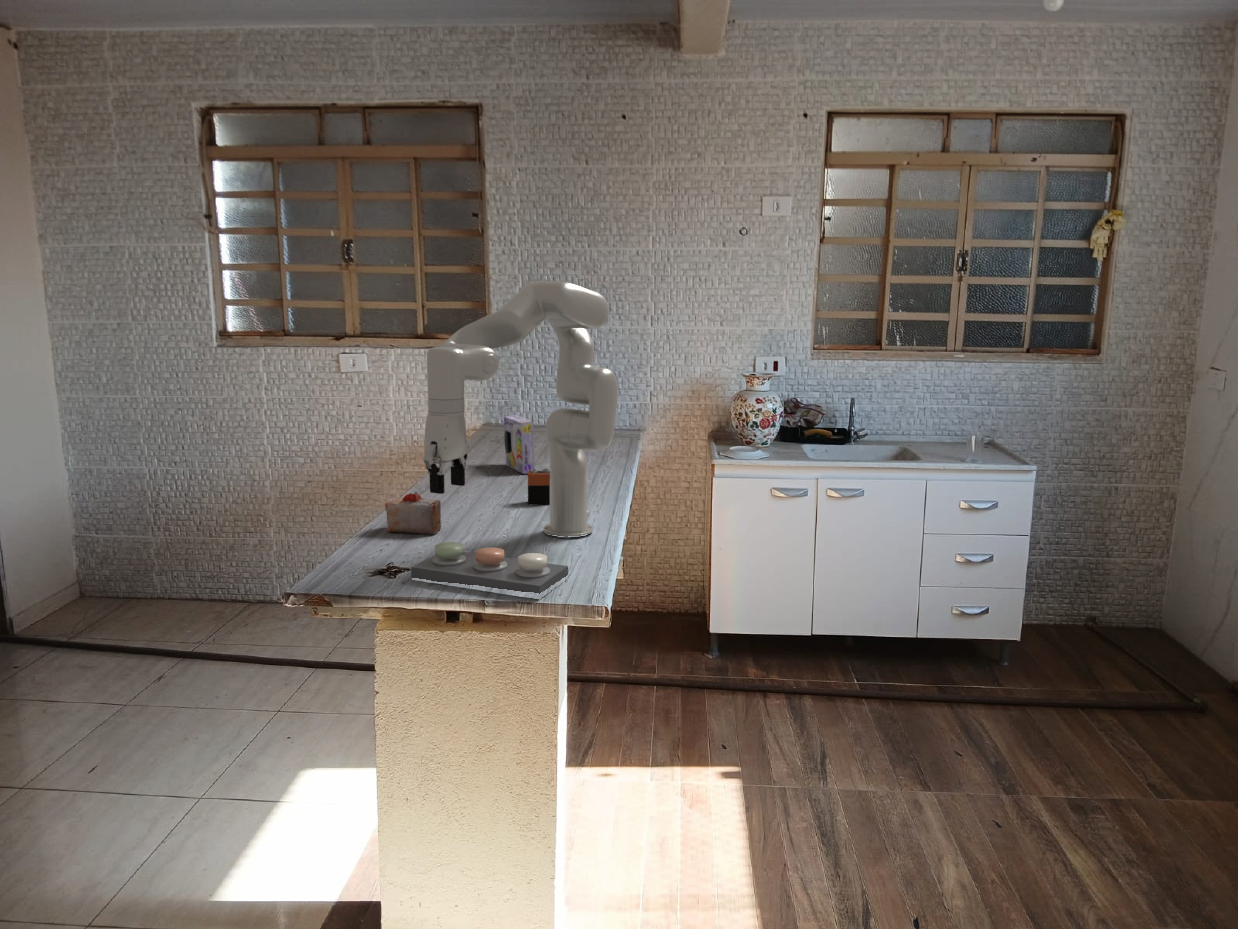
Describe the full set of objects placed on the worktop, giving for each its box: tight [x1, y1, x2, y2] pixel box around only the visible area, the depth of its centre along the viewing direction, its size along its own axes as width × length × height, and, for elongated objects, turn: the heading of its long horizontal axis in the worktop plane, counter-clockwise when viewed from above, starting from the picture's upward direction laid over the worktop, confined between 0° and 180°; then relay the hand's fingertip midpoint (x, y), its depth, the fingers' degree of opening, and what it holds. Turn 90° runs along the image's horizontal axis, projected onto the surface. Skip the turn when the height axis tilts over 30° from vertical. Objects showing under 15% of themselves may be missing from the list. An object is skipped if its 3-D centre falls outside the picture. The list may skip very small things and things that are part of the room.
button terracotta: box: [475, 547, 505, 564], centre depth 190 cm, size 6×6×2 cm
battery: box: [527, 467, 550, 505], centre depth 257 cm, size 4×7×10 cm, turn 97°
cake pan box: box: [503, 414, 536, 475], centre depth 303 cm, size 19×5×18 cm, turn 25°
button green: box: [434, 541, 464, 558], centre depth 193 cm, size 6×6×2 cm
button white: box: [517, 552, 548, 570], centre depth 186 cm, size 6×6×2 cm
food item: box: [384, 491, 442, 535], centre depth 226 cm, size 14×8×10 cm, turn 81°
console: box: [410, 551, 569, 594], centre depth 190 cm, size 14×30×4 cm, turn 69°
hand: (447, 488), depth 190 cm, fingers open, 7 cm apart
